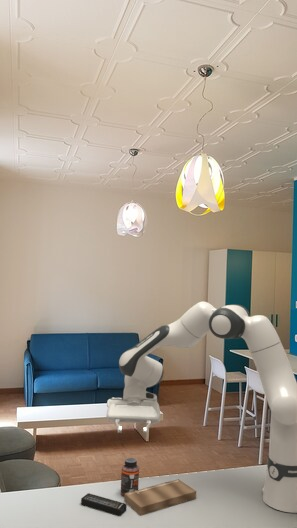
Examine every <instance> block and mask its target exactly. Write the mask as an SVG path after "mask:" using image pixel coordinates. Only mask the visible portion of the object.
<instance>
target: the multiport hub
mask: <svg viewBox="0 0 297 528" xmlns="http://www.w3.org/2000/svg"><path fill="white" fill-rule="evenodd" d="M80 504H81V506H84V507H86V508H90V509H94V510H98V511H100V512H103V513H108V514H111V515H114V516H117V517H121V516H122V515H123V514H125V513H126V512H127V509H128V508H127V505H128V504H127V503H126V502H125V503H124V502H122V501H117V500H114V499H111V498H107V497H103V496H100V495H97V494H93V493H90V492H89V493H86V494H85V495H84V496H83V497H81V499H80Z"/></svg>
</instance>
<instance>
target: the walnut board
mask: <svg viewBox="0 0 297 528" xmlns="http://www.w3.org/2000/svg"><path fill="white" fill-rule="evenodd" d="M123 497H124V498H123V499H124V500H123V502H125V504H127V505H128V506H129V507H130V508H131V509H133V510H134V512H135V513H136V514H138V515H139V516H143V515H147V514H150V513H154V512H157V511H160V510H163V509H167V508H170V507H173V506H176V505H177V506H178V505H179V504H183V503H186V502H190V501H192V500H196V499H197V490H196V489H194V488H193V487H191V486H190V485H188V484H187V483H185V482H183V481H182V480H180V479H177V478H176V479H173V480H170V481H167V482H162V483H159V484H155V485H151V486H147V487H144V488H140V489H139V488H138V490H134V491H132V492H128V493H125V495H124V496H123Z"/></svg>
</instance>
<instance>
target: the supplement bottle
mask: <svg viewBox="0 0 297 528" xmlns="http://www.w3.org/2000/svg"><path fill="white" fill-rule="evenodd" d="M137 462H138V460H137V459H136V458H135V457H127V458H125V459H124V465H122V467H121V479H120V494H121V495H122V496H123V497H124V495H125V493H128V492H132V491H134V490H139V485H140V484H139V482H140V481H139V479H140V467H139V465H138V464H137Z"/></svg>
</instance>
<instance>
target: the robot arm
mask: <svg viewBox="0 0 297 528" xmlns="http://www.w3.org/2000/svg"><path fill="white" fill-rule="evenodd" d="M209 332H211V333H212V335H213V336H215V337H216V338H219V339H223V340H230V339H235V340H236V339H237V340H238V339H241V338H242V339H243V340H244V341H245V343H246V345H247V348H248V350H249V353H250V355H251V358H252V360H253V363H254V365H255V368H256V371H257V373H258V375H259V379H260V383H261V385H262V388H263V391H264V394H265V397H266V400H267V403H268V406H269V410H270V426H269V427H270V428H269V441H268V442H269V449H268V450H269V451H268V456H267V460H266V463H267V465H266V466H267V469H266V471H265V478H264V486H263V487H262V489H261V492H262V500H263V502H264V503H265V505H267V506H268V507H271V508H272V509H274V510H278V511H281V512H285V513H292V514H293V513H294V514H297V379H296V376H295V374H294V371H293V368H292V366H291V363H290V359H289V358H288V355H287V354H286V350H285V348H284V346H283V343H282V342H281V338H280V336H279V335H278V334H279V333H278V332H277V331H276V329H275V326H274V325H273V324H272V322H271V321H270V320H269V318H268V317H267V316H265V315H262V314H261V315H260V314H257V315H256V314H255V315H252V316H251V314H250V312H249V310H248V309H247V308H246V307H245V306H244V305H241V304H237V303H235V304H234V303H232V304H227V305H223V306H221V307H219V308H216V307H214V305H212V304H211V303H209V302H207V301H199V302H197V303H195V304H193V306H191V307H190V308H188V310H187V311H185V312H184V314H182V315H181V317H179V318H178V319H176V320H175V321H173V322H172V323H169V324H164V325H161V326H159V327H158V328H156V329H154V330H153V331H152V332H151V333H150V334H148V335H147V336H146V337H144V338H143V339H142V340H140V341H139V342H138V343H136V344H135V345H133V347H131V348H129V349H126V350H125V351H124V352H123V353H121V355H120V357H119V359H118V367H119V370H120V372H121V374H122V375H124V380H123V381H124V388H123V396H122V397H111V398H109V399H108V400H107V402H106V406H107V410H106V420H107V422H110V423H113V422H114V423H115V426H116V429H117V434H119V433H120V434H122V433H123V432H122V430H123V426H121V425H120V423H132V424H133V423H137V424H146V426H145V427H143V435H144V434H145V435H148V430H149V428H150V427H151V424H159V423H160V422H161V408H160V404H159V402H158V396H157V394H156V393H152V392H149V391H147V388H151V387H153V386H156V385H158V384H159V383H161V382H162V380H163V377H164V366H163V364H162V363H161V362H159V361H158V360H156V359H155V358H152V357H150V356H148V355H149V354H150V353H151V352H153V351H155V350H156V349H157V348H159V347H160V348H161V347H176V348H180V349H189V348H191V347H194V346H196V345H197V344H198V343H199V342H201V340H202V339H203V338H204V337H206V335H207V334H208V333H209Z"/></svg>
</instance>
